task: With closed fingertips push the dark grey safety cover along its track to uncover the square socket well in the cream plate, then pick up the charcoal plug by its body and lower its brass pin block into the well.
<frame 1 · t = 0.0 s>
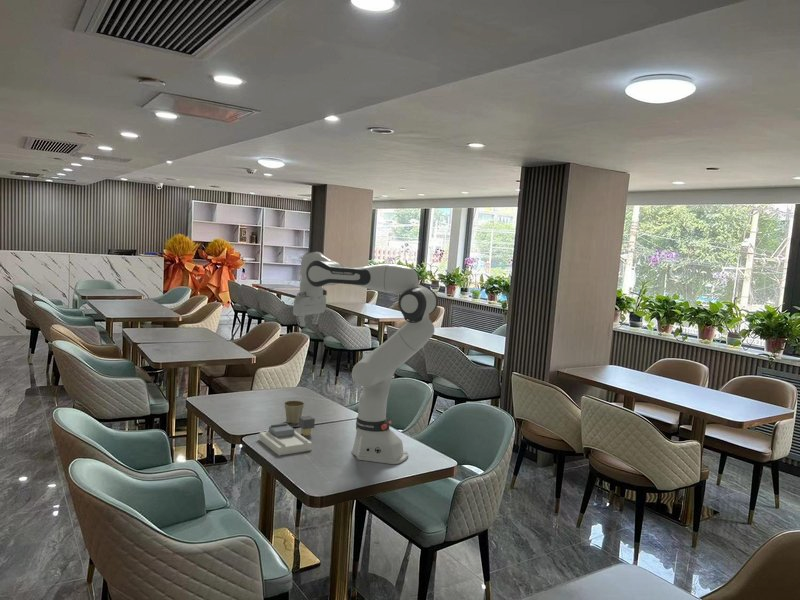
hand: (308, 325, 240), 48 cm above the table, fingers open, 8 cm apart
socket plate: (285, 444, 235), on the table
flower pot: (293, 422, 266), on the table
cover: (281, 429, 238), point 5 cm above the table, slide at 0.0 cm
plug: (305, 434, 250), on the table
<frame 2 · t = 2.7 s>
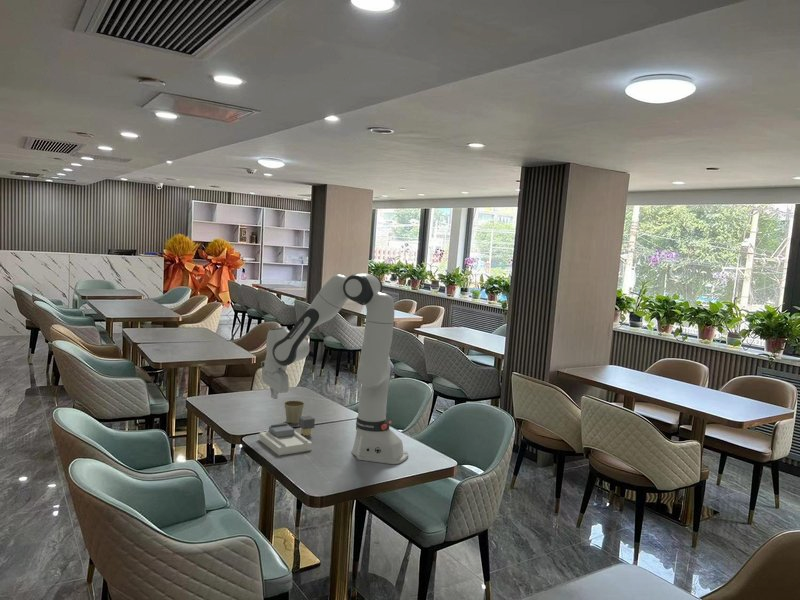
hand: (274, 398, 244), 16 cm above the table, fingers closed
nothing on the table moved.
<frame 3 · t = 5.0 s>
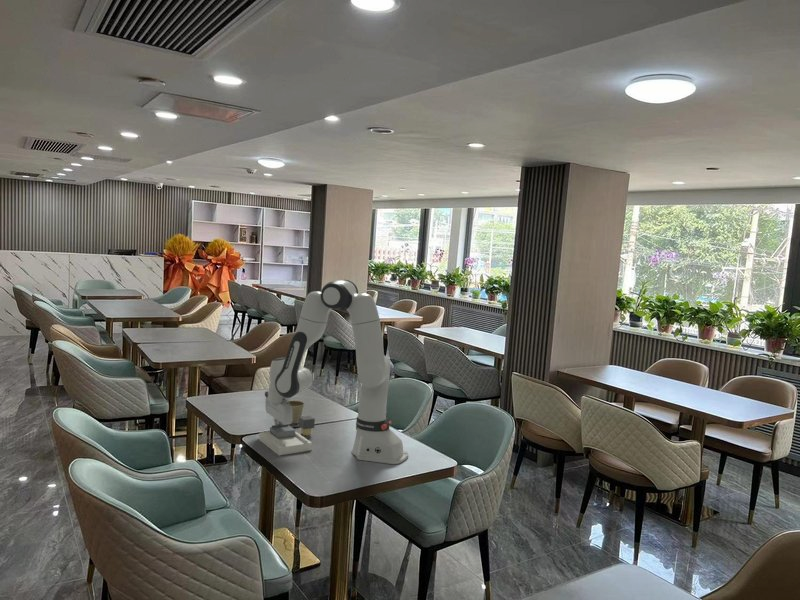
hand: (278, 429, 241), 4 cm above the table, fingers closed
cover: (282, 430, 237), point 5 cm above the table, slide at 1.0 cm, touching gripper
everything else where it was.
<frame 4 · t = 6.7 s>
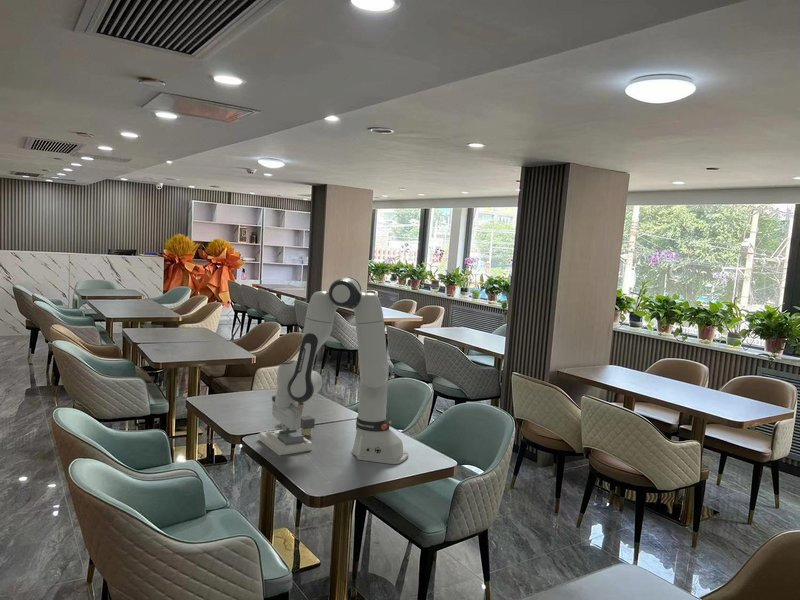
hand: (285, 434, 235), 4 cm above the table, fingers closed
cover: (290, 436, 231), point 5 cm above the table, slide at 8.9 cm, touching gripper
everything else where it was.
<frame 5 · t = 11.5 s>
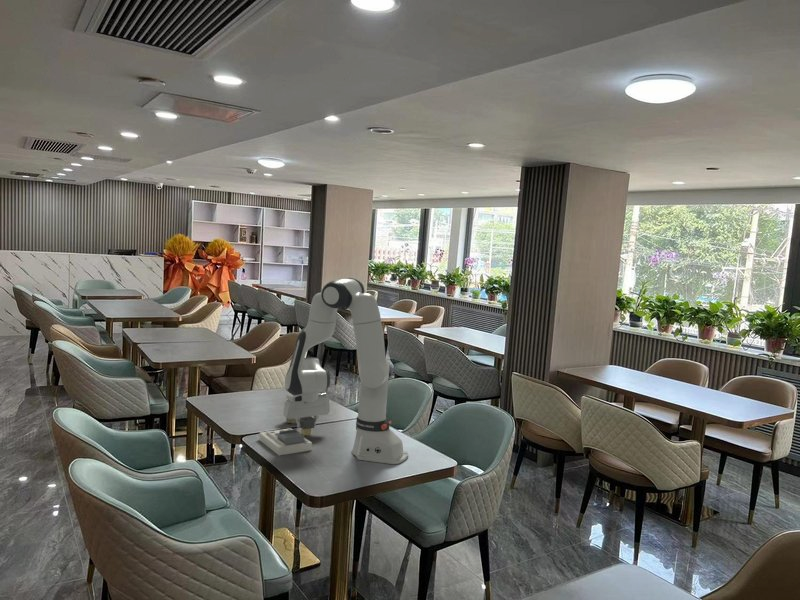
hand: (306, 426, 250), 3 cm above the table, fingers closed on plug, 5 cm apart
cover: (290, 436, 231), point 5 cm above the table, slide at 9.0 cm
plug: (305, 434, 250), on the table, touching gripper
everything else where it was.
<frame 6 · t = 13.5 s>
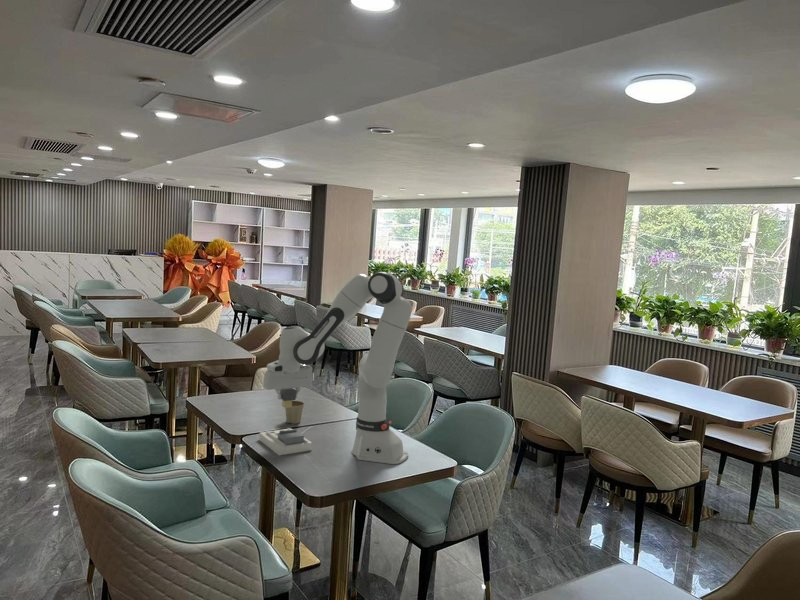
hand: (287, 398, 239), 17 cm above the table, fingers closed on plug, 5 cm apart
plug: (286, 406, 240), point 14 cm above the table, touching gripper
everything else where it was.
when the fingers open (5 cm above the table, at t = 15.9 s): plug drops 1 cm, resting in socket plate.
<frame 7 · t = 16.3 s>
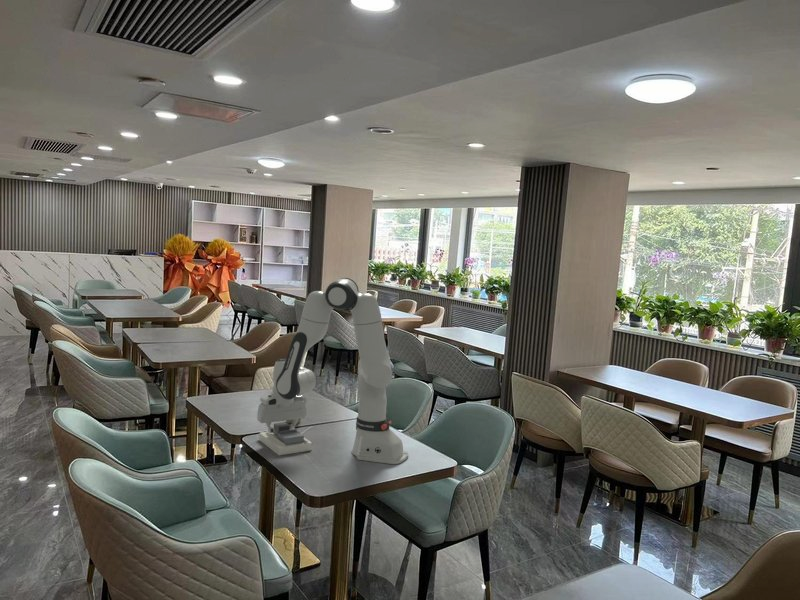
hand: (281, 430, 238), 5 cm above the table, fingers open, 8 cm apart
plug: (281, 441, 239), resting in socket plate
everything else where it was.
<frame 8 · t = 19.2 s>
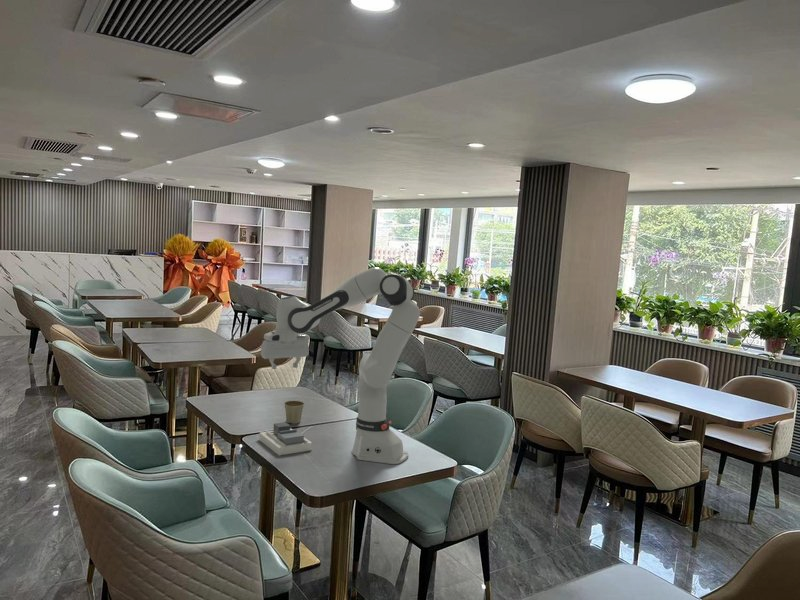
hand: (284, 368, 243), 29 cm above the table, fingers open, 8 cm apart
nothing on the table moved.
at the end: cover slide at 9.0 cm; plug 0.0 cm from the target spot, resting in socket plate; plug tilted 0° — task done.
